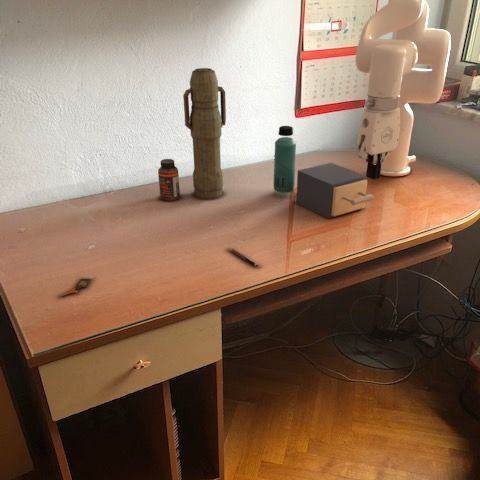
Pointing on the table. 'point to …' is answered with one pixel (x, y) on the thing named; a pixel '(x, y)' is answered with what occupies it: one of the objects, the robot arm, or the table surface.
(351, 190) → the drawer
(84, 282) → the key tag
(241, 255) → the pen
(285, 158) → the beverage bottle
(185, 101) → the thermos
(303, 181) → the cabinet
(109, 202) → the table surface
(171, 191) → the supplement bottle
